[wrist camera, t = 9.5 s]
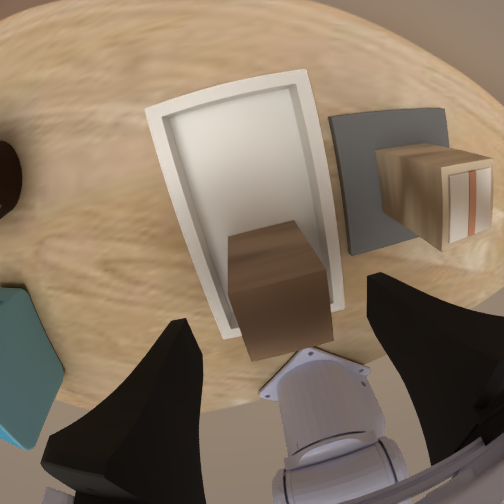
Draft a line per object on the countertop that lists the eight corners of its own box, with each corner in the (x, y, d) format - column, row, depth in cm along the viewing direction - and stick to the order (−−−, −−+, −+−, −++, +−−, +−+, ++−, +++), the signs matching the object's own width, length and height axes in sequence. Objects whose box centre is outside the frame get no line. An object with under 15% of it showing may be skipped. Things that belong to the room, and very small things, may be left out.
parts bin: (334, 290, 22) (344, 308, 20) (223, 318, 22) (223, 339, 20) (296, 76, 15) (306, 68, 13) (155, 111, 15) (144, 108, 13)
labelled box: (428, 199, 19) (492, 233, 12) (382, 211, 19) (443, 253, 12) (424, 142, 17) (495, 159, 10) (375, 150, 17) (443, 168, 10)
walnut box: (304, 277, 20) (333, 340, 14) (244, 292, 21) (251, 361, 14) (293, 219, 19) (326, 269, 12) (227, 236, 19) (227, 294, 12)
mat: (439, 108, 16) (444, 108, 15) (446, 224, 20) (450, 226, 20) (328, 116, 16) (331, 116, 16) (348, 252, 21) (351, 256, 20)
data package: (-2, 281, 19) (-68, 354, 8) (25, 281, 20) (-47, 366, 9) (40, 367, 24) (3, 443, 13) (67, 373, 24) (32, 457, 14)
